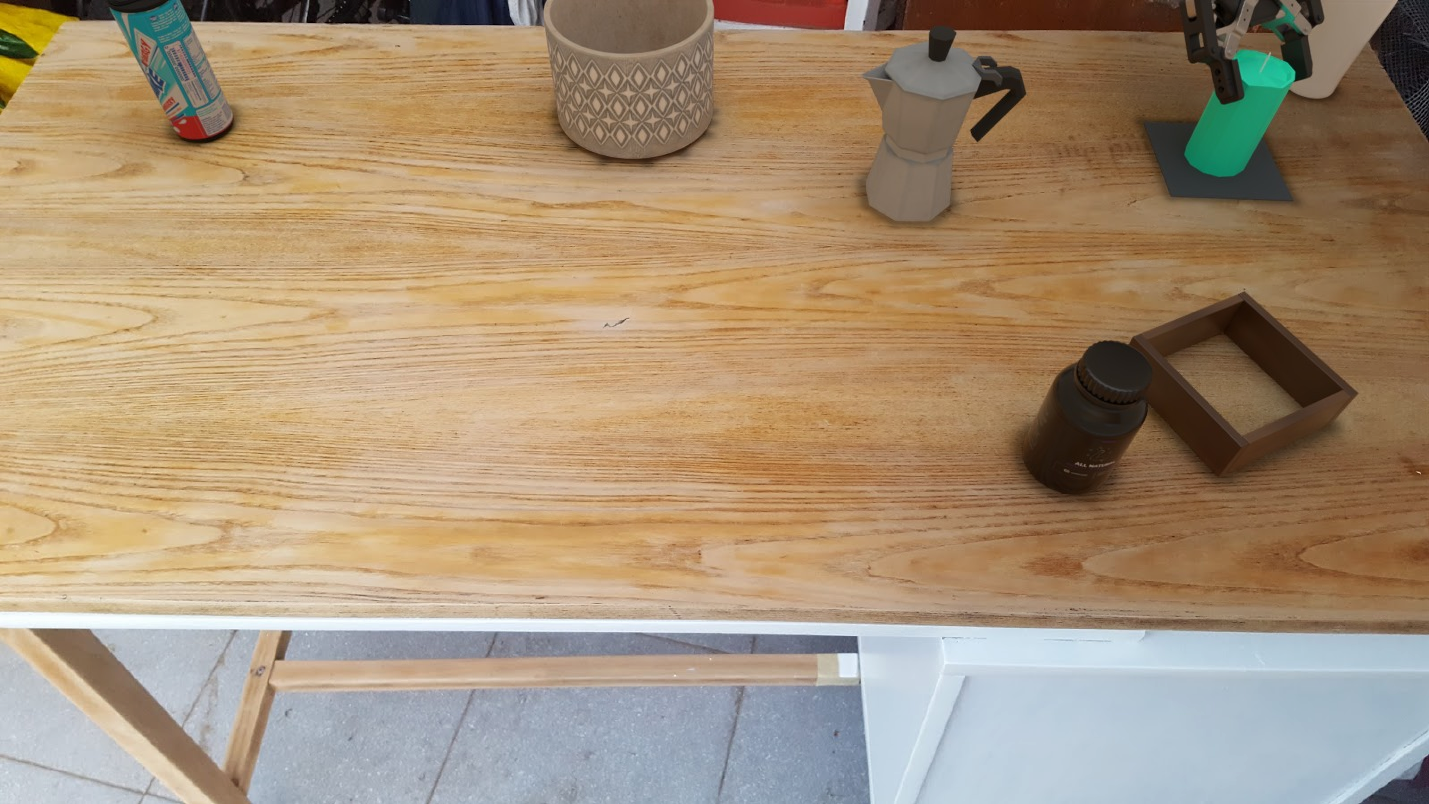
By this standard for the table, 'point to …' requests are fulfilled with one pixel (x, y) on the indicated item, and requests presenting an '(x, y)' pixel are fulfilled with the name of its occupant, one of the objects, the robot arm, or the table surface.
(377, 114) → the table surface
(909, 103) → the coffee maker
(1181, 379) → the brown wooden tray
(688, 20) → the planter
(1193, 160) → the candle
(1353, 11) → the cream tall cylinder
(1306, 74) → the robot arm
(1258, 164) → the mat
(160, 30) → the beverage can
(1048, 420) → the supplement bottle
